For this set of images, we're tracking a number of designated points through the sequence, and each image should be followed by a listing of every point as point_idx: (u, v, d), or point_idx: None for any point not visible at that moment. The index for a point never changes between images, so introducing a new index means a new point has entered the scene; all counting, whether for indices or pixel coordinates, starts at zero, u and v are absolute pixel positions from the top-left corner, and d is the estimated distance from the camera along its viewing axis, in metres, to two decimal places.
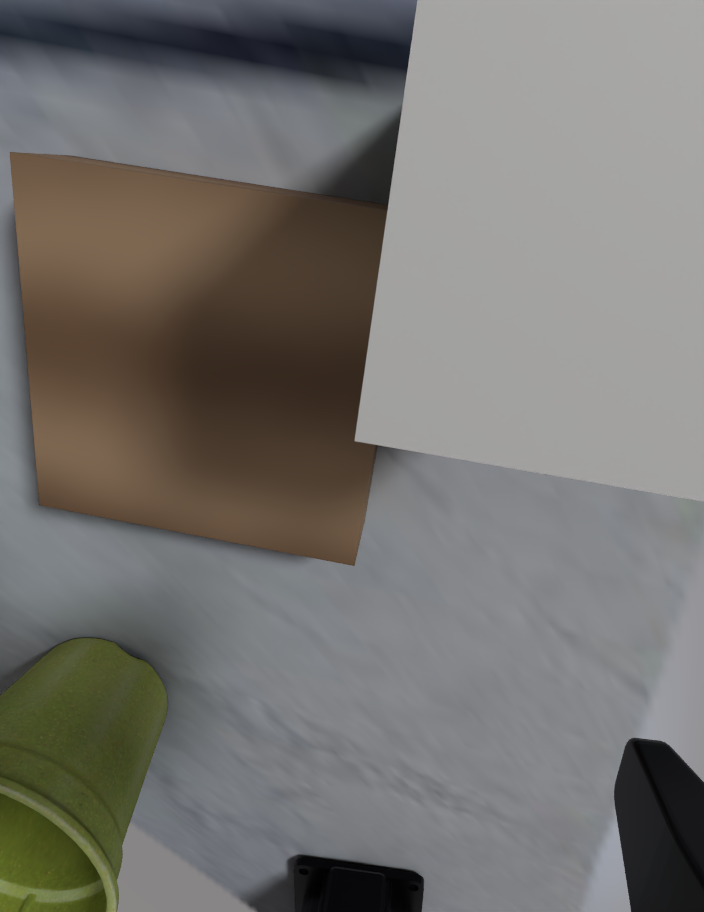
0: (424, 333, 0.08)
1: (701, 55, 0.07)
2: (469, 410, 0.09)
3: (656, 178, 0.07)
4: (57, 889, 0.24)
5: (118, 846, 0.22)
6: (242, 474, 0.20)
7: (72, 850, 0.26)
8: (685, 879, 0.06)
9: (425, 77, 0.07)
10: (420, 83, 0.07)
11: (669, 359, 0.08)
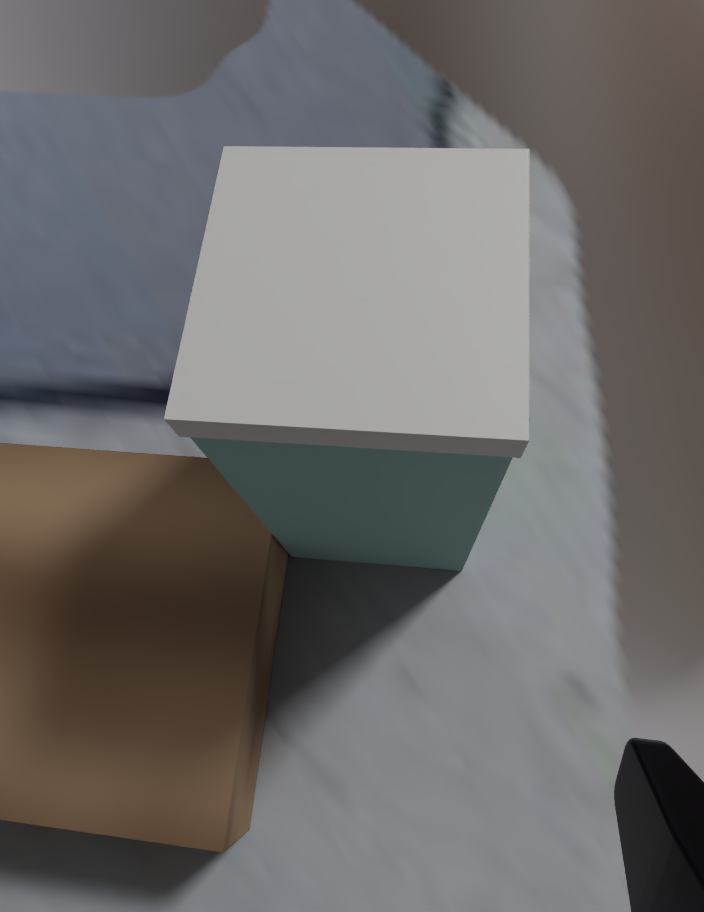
0: (219, 337, 0.11)
1: (364, 193, 0.12)
2: (253, 385, 0.11)
3: (354, 243, 0.12)
4: None
5: None
6: (104, 727, 0.18)
7: None
8: (685, 879, 0.06)
9: (219, 212, 0.12)
10: (216, 214, 0.12)
11: (389, 336, 0.11)
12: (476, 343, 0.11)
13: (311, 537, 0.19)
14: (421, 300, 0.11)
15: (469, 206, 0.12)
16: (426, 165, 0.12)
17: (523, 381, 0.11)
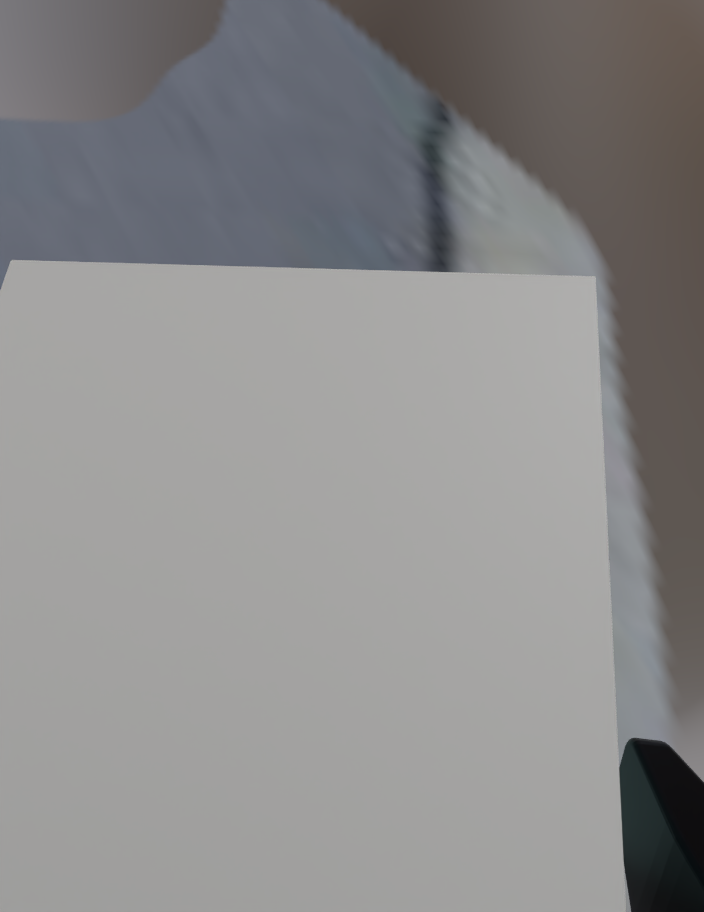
0: None
1: (266, 366, 0.06)
2: None
3: (239, 483, 0.06)
4: None
5: None
6: None
7: None
8: (685, 879, 0.06)
9: None
10: None
11: (299, 728, 0.05)
12: (497, 760, 0.05)
13: None
14: (373, 632, 0.05)
15: (477, 402, 0.06)
16: (392, 307, 0.06)
17: (611, 881, 0.04)
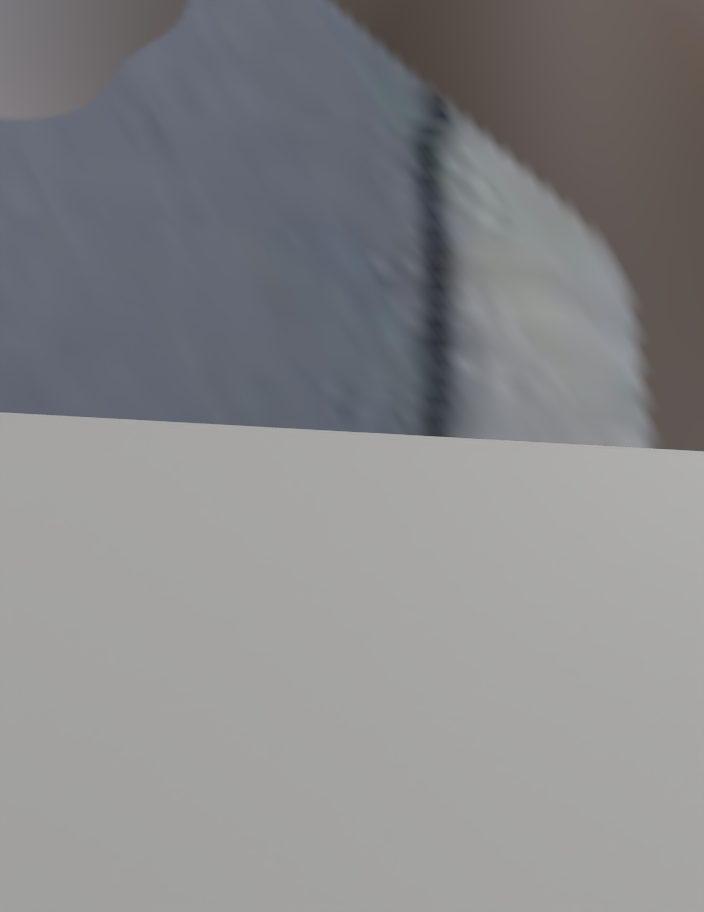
0: None
1: (61, 643, 0.03)
2: None
3: None
4: None
5: None
6: None
7: None
8: None
9: None
10: None
11: None
12: None
13: None
14: None
15: (494, 755, 0.03)
16: (319, 512, 0.03)
17: None
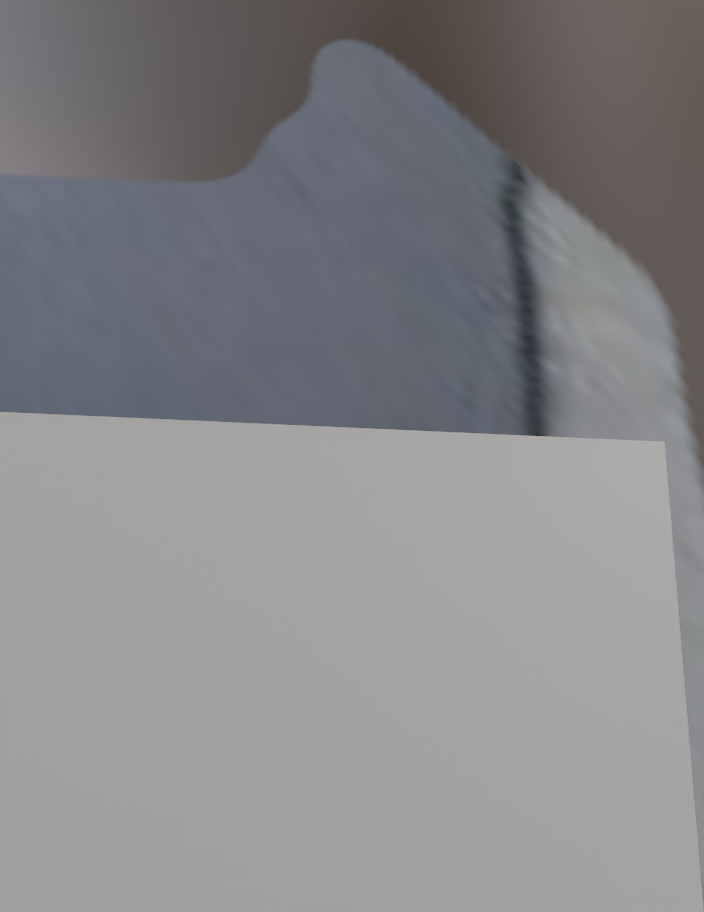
0: None
1: (7, 631, 0.03)
2: None
3: None
4: None
5: None
6: None
7: None
8: None
9: None
10: None
11: None
12: None
13: None
14: None
15: (418, 738, 0.03)
16: (259, 503, 0.03)
17: None
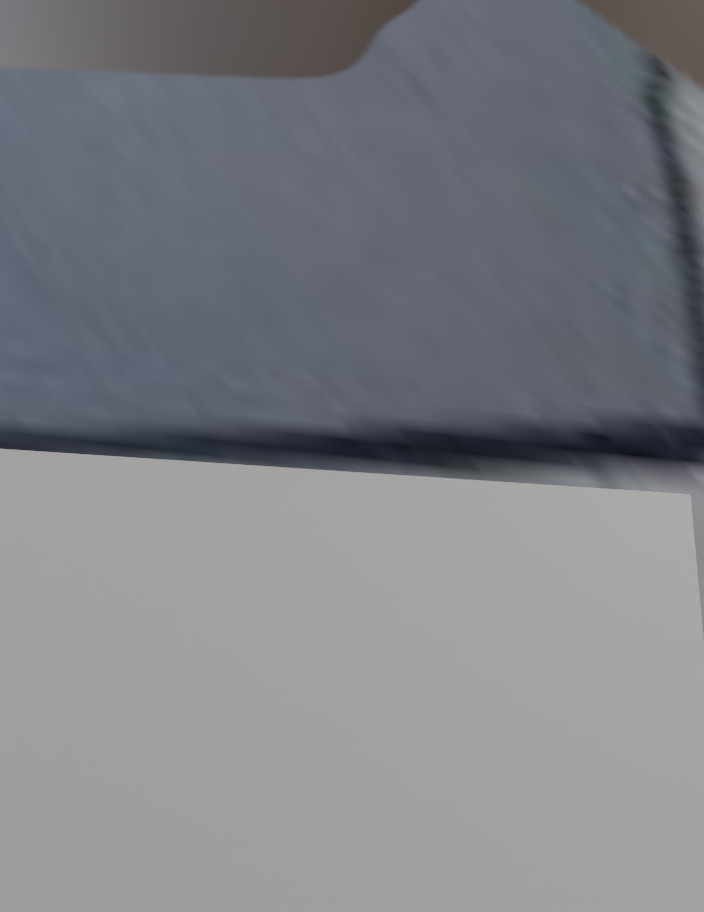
0: None
1: (75, 666, 0.03)
2: None
3: None
4: None
5: None
6: None
7: None
8: None
9: None
10: None
11: None
12: None
13: None
14: None
15: (469, 770, 0.03)
16: (313, 546, 0.03)
17: None
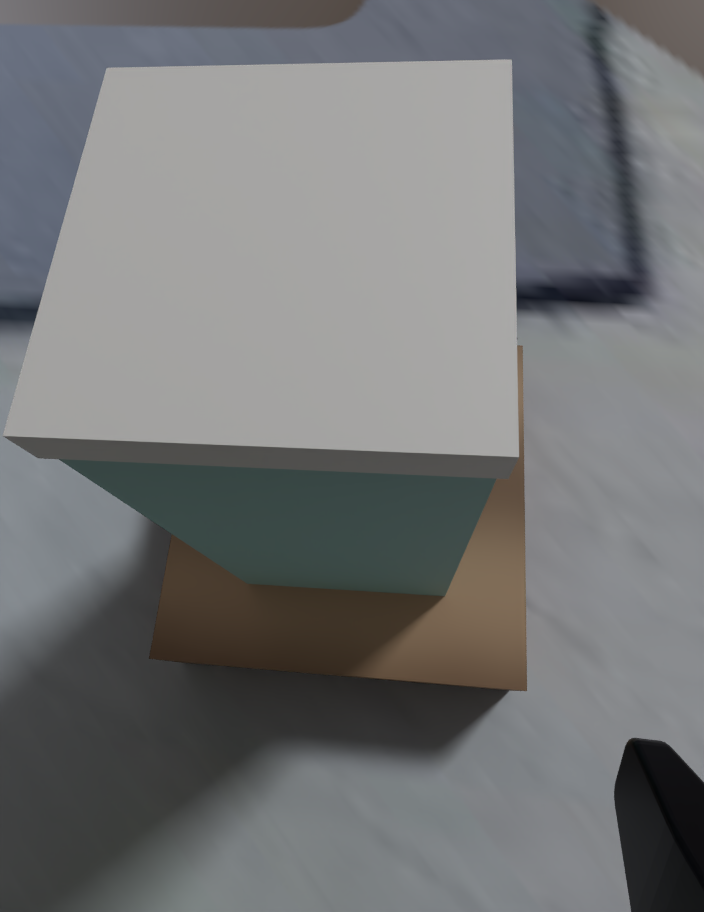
0: (87, 319, 0.08)
1: (290, 122, 0.09)
2: (130, 385, 0.08)
3: (276, 188, 0.09)
4: None
5: None
6: None
7: None
8: (685, 879, 0.06)
9: (96, 151, 0.09)
10: (92, 155, 0.09)
11: (321, 313, 0.08)
12: (442, 320, 0.08)
13: (262, 565, 0.16)
14: (366, 262, 0.08)
15: (432, 135, 0.09)
16: (375, 84, 0.09)
17: (509, 371, 0.07)
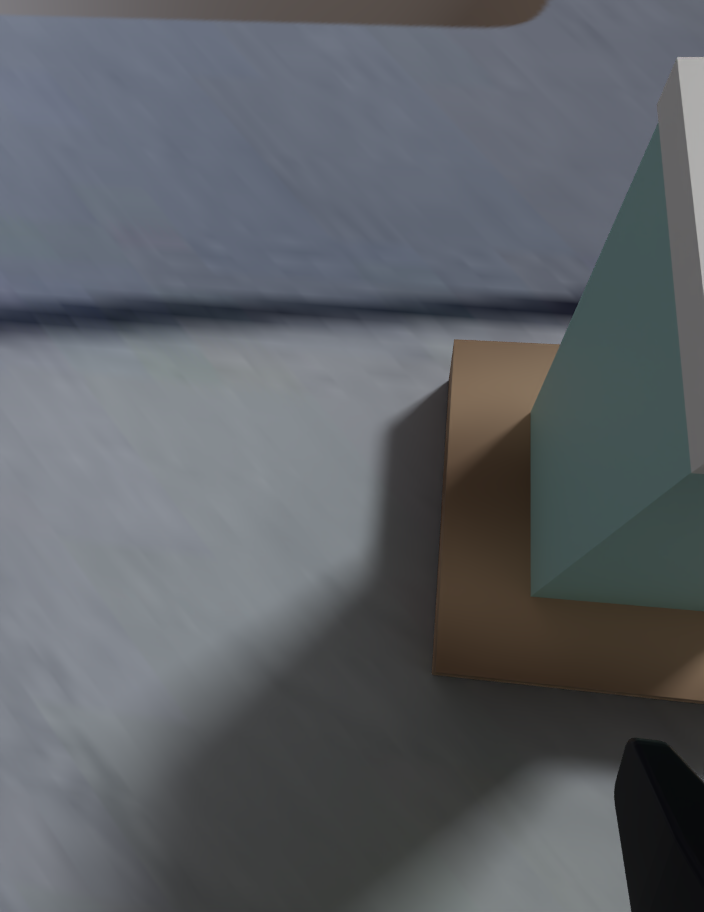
0: None
1: None
2: None
3: None
4: None
5: None
6: None
7: None
8: (685, 879, 0.06)
9: (703, 145, 0.09)
10: (700, 149, 0.09)
11: None
12: None
13: (607, 581, 0.15)
14: None
15: None
16: None
17: None
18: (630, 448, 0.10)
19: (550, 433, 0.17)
